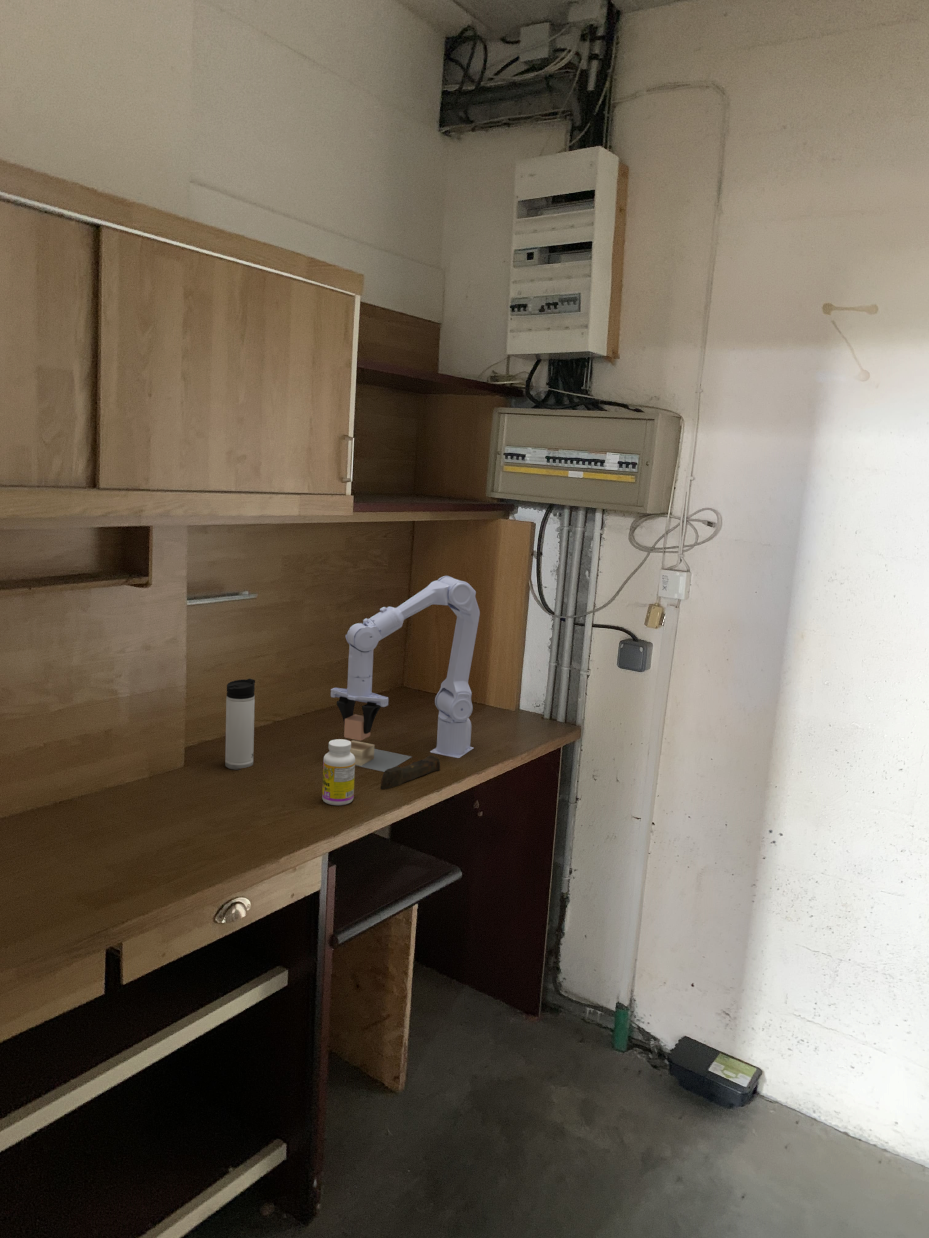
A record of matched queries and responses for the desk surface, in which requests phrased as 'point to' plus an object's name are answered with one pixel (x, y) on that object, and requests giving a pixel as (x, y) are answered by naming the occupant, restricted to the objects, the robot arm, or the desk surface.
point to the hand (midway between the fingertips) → (357, 730)
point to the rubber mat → (385, 760)
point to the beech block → (362, 752)
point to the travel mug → (240, 724)
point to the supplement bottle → (338, 773)
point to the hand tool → (409, 772)
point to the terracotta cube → (355, 728)
